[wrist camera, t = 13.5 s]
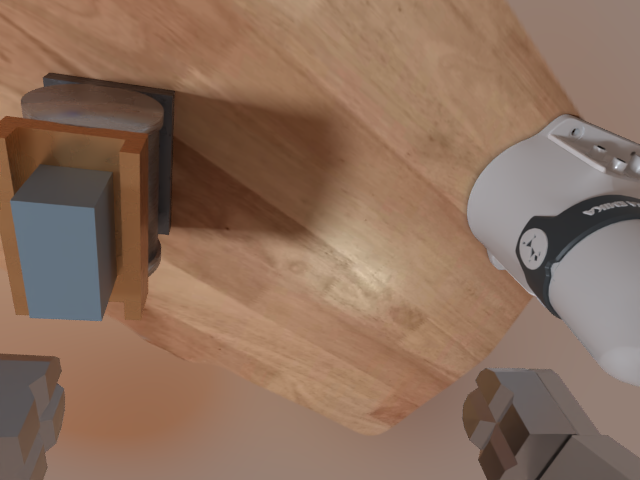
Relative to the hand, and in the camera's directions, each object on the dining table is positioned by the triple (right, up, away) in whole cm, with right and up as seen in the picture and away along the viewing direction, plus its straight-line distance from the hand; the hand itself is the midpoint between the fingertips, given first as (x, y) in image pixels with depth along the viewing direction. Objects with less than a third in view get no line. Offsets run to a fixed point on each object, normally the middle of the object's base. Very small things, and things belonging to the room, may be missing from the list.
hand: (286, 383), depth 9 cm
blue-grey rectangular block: (-16, +4, +25) cm, 30 cm away
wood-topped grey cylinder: (-18, +10, +35) cm, 41 cm away
